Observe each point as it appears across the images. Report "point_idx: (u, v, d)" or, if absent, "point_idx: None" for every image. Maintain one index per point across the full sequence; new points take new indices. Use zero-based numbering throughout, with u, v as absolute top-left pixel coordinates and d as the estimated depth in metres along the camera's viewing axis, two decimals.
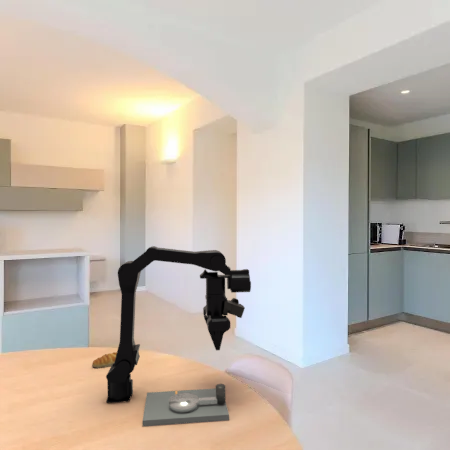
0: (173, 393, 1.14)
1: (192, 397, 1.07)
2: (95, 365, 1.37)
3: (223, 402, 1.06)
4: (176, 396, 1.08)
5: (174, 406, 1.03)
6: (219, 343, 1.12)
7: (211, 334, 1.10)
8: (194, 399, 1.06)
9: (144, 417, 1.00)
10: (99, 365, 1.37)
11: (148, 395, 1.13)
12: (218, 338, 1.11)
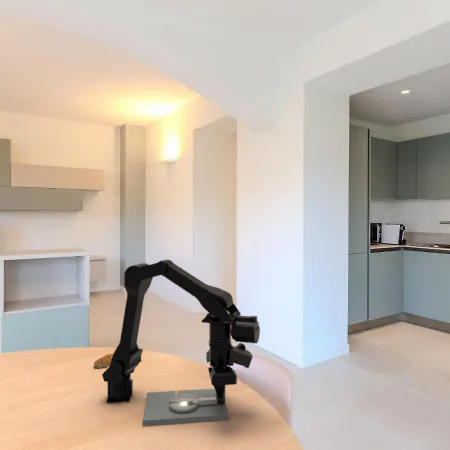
0: (173, 393, 1.14)
1: (192, 397, 1.07)
2: (97, 366, 1.37)
3: (223, 402, 1.06)
4: (175, 396, 1.08)
5: (174, 406, 1.03)
6: (222, 391, 1.04)
7: None
8: (194, 399, 1.06)
9: (144, 417, 1.00)
10: (101, 366, 1.37)
11: (148, 395, 1.13)
12: (221, 385, 1.03)
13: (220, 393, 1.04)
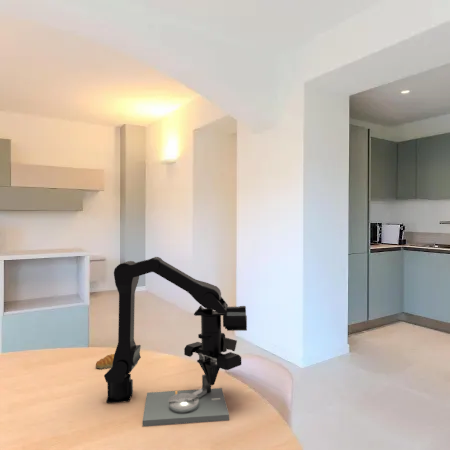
0: (173, 393, 1.14)
1: (187, 395, 1.08)
2: (99, 366, 1.36)
3: None
4: (172, 400, 1.06)
5: (186, 407, 1.02)
6: (215, 377, 1.12)
7: (211, 370, 1.10)
8: (191, 395, 1.08)
9: (144, 417, 1.00)
10: (104, 366, 1.37)
11: (148, 395, 1.13)
12: (215, 372, 1.12)
13: (213, 380, 1.12)
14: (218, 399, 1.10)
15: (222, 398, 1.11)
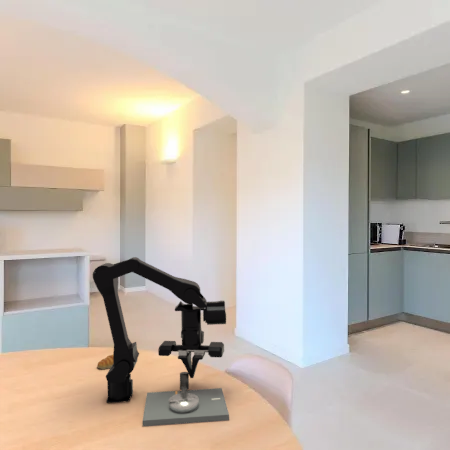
0: (173, 393, 1.14)
1: (181, 395, 1.08)
2: (101, 367, 1.36)
3: None
4: (174, 403, 1.04)
5: (195, 404, 1.04)
6: (195, 369, 1.16)
7: None
8: (185, 394, 1.09)
9: (144, 417, 1.00)
10: (105, 367, 1.36)
11: (148, 395, 1.13)
12: (196, 365, 1.16)
13: (194, 372, 1.16)
14: (218, 399, 1.10)
15: (222, 398, 1.11)
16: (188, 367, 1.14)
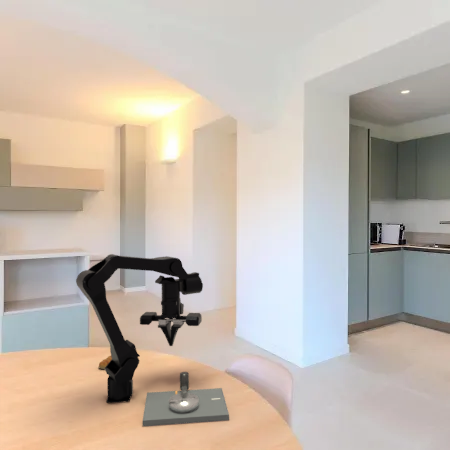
0: (173, 393, 1.14)
1: (181, 395, 1.08)
2: (103, 367, 1.36)
3: None
4: (174, 403, 1.04)
5: (195, 404, 1.04)
6: (174, 338, 1.25)
7: None
8: (185, 394, 1.09)
9: (144, 417, 1.00)
10: None
11: (148, 395, 1.13)
12: (175, 334, 1.24)
13: (173, 341, 1.24)
14: (218, 399, 1.10)
15: (222, 398, 1.11)
16: (167, 335, 1.22)
